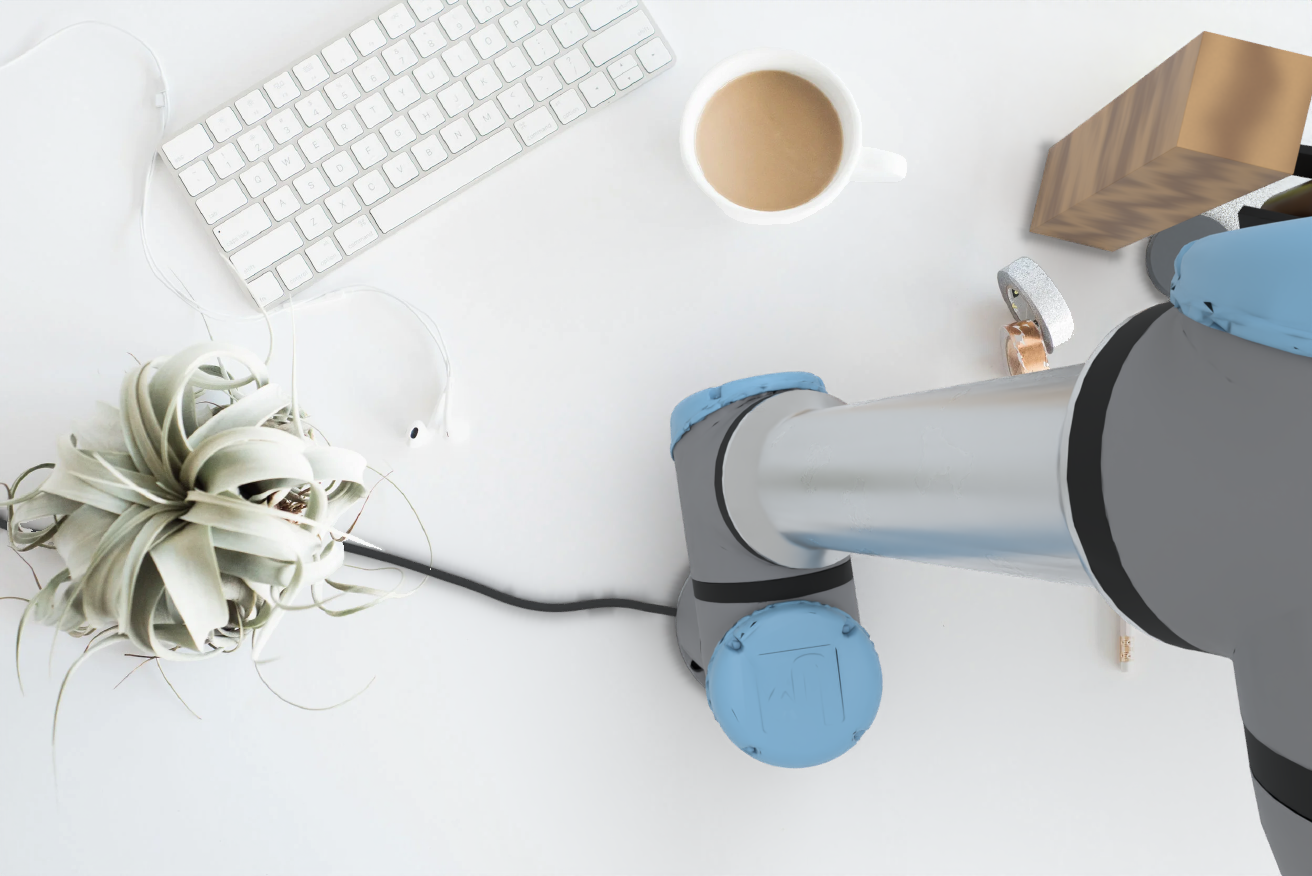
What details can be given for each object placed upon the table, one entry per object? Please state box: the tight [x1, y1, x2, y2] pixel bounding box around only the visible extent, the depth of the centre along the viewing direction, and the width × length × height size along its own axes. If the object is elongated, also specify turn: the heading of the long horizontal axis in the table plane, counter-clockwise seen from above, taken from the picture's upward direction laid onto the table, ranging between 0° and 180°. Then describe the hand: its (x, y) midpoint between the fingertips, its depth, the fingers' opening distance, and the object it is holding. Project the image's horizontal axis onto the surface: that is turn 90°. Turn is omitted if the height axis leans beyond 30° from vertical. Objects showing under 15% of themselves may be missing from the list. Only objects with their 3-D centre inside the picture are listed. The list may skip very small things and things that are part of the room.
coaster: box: [1145, 214, 1229, 299], centre depth 77 cm, size 8×8×1 cm
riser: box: [1029, 30, 1312, 253], centre depth 66 cm, size 8×8×22 cm
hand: (1266, 189), depth 64 cm, fingers closed on pepper mill, 5 cm apart
